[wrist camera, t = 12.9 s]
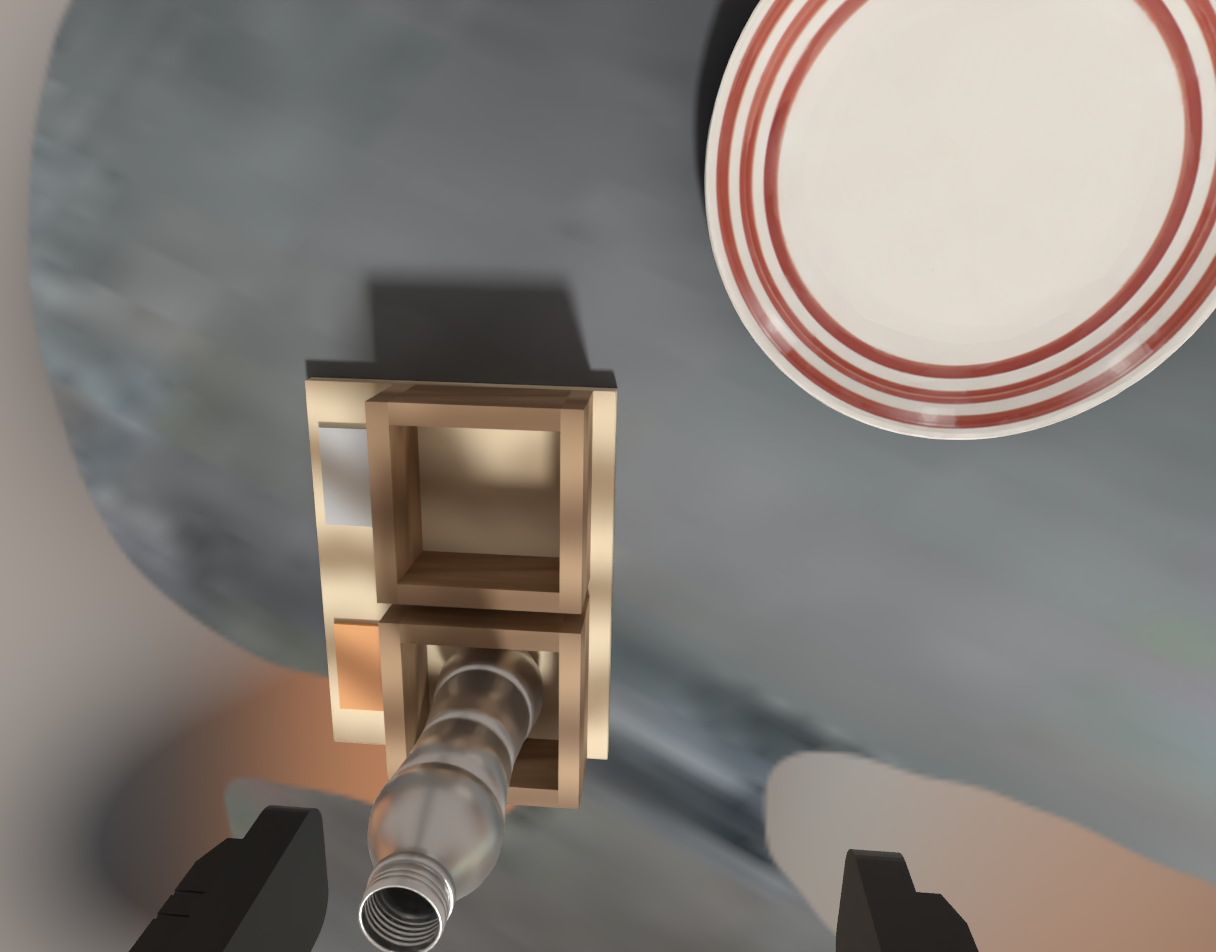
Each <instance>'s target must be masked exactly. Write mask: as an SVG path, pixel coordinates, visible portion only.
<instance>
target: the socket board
mask: <svg viewBox="0 0 1216 952" xmlns="http://www.w3.org/2000/svg"><path fill="white" fill-rule="evenodd" d="M305 387H306V400H307V412H308V424H309V437H310V449H311V461H312V474H313V486H314V498H315V510H316V523H317V535H318V547H319V560H320V572H321V584H322V597H323V609H324V621H325V634H326V646H327V658H328V671H329V683H330V695H331V707H332V720H333V732H334V741H335V742H350V743H365V744H381V745H386V758H387V774H388V781H389V780H390V779H391V777H392V776H393V775H394V774H395V772H396V771H397V770H398V768H399V767H400V766H401V765H402V763H403V762H404V761H405V759H406V758H407V757H408V756H409V754H410V752H411V750H412V749H413V747H414V745H415V744H416V742H417V740H418V739H419V737H420V735H421V733H422V732H423V730H424V728H425V725H426V723H427V720H428V717H429V714H430V711H431V708H432V705H433V697H434V692H435V688H436V684H437V680H438V677H439V674H440V671H441V669H442V667H443V665H444V664H445V663H446V662H447V660H448V659H449V658H450V657H451V656H452V655H453V654H454V653H455V652H456V651H457V650H458V649H459V648H460V647H475V648H493V649H510V650H526V651H527V652H528V653H529V654H530V655H531V657H532V658H533V659H534V661H535V662H536V664H537V666H538V668H539V670H540V673H541V677H542V683H543V700H542V708H541V711H540V715H539V717H538V719H537V720H536V722H535V724H534V726H533V728H532V730H531V732H530V734H529V735H528V737H527V738H526V739H525V741H524V742H523V744H522V747H521V749H520V751H519V754H518V756H517V758H516V761H515V763H514V766H513V770H512V774H511V779H510V784H509V788H508V793H507V802H506V804H514V805H528V806H542V807H557V808H571V809H579V803H580V797H581V791H582V785H583V779H584V773H585V767H586V762H587V758H593V759H607V757H608V746H609V706H610V667H611V627H612V587H613V547H614V507H615V467H616V427H617V388H595V387H567V386H540V385H512V384H485V383H457V382H429V381H402V380H374V379H347V378H319V377H311V378H309V379H307V380H305Z"/></svg>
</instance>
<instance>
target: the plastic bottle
mask: <svg viewBox="0 0 1216 952" xmlns="http://www.w3.org/2000/svg"><path fill="white" fill-rule="evenodd" d="M542 700H543V683H542V677H541V673H540V670H539V668H538V666H537V664H536V662H535V661H534V659H533V658H532V657H531V655H530V654H529V653H528V652H527V651H526V650H510V649H493V648H475V647H460V648H459V649H458V650H457V651H456V652H455V653H454V654H453V655H452V656H451V657H450V658H449V659H448V660H447V662H446V663H445V664H444V665H443V667H442V669H441V671H440V674H439V677H438V680H437V684H436V688H435V692H434V697H433V705H432V708H431V711H430V714H429V717H428V720H427V723H426V725H425V728H424V730H423V732H422V733H421V735H420V737H419V739H418V740H417V742H416V744H415V745H414V747H413V749H412V750H411V752H410V754H409V756H408V757H407V758H406V759H405V761H404V762H403V763H402V765H401V766H400V767H399V768H398V770H397V771H396V772H395V774H394V775H393V776H392V777H391V779H390V780H389V781H388V783H387V784H386V785H385V786H384V788H383V789H382V791H381V793H380V794H379V796H378V797H377V799H376V801H375V803H374V805H373V807H372V809H371V814H370V818H369V826H368V848H369V852H370V856H371V859H372V863H373V866H374V869H373V871H372V873H371V875H370V877H369V879H368V883H367V889H366V891H365V893H364V895H363V897H362V900H361V902H360V906H359V910H358V920H359V925H360V928H361V930H362V932H363V934H364V935H365V936H366V938H367V939H368V940H369V941H370V942H371V943H372V944H373V945H374V946H376V947H377V948H378V949H380V950H382V951H384V952H427V951H429V950H430V949H432V948H433V947H434V946H435V944H436V943H437V942H438V940H439V939H440V937H441V935H442V933H443V930H444V927H445V924H446V921H447V920H448V919H449V917H450V915H451V913H452V910H453V907H454V904H455V901H457V900H458V899H460V898H462V897H464V896H466V895H468V894H469V893H471V892H472V891H474V890H475V889H476V888H478V887H479V885H480V884H481V883H482V882H483V881H484V880H485V879H486V877H487V876H488V875H489V873H490V872H491V871H492V869H493V868H494V866H495V864H496V862H497V860H498V858H499V855H500V851H501V848H502V842H503V837H504V826H505V814H506V802H507V793H508V788H509V784H510V779H511V774H512V770H513V766H514V763H515V761H516V758H517V756H518V754H519V751H520V749H521V747H522V744H523V742H524V741H525V739H526V738H527V737H528V735H529V734H530V732H531V730H532V728H533V726H534V724H535V722H536V720H537V719H538V717H539V715H540V711H541V708H542Z"/></svg>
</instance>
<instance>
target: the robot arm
mask: <svg viewBox="0 0 1216 952" xmlns="http://www.w3.org/2000/svg"><path fill="white" fill-rule="evenodd" d="M327 903H328V879H327V868H326V856H325V845H324V833H323V822H322V816H321V813H320V811H319V810H318V809H316V808H302V807H289V806H275V805H270V806H267V807H266V808H265V809H264V810H263V811H262V812H261V814H260V815H259V817H258V818H257V820H256V821H255V822H254V824H253V825H252V827H251V828H250V830H249V831H248V832H247V834H246V835H245V837H244V838H243V839H234V838H227V839H225V840H224V841H223V842H221V843H220V844H219V845H217V846H216V847H215V848H213V849H212V850H211V851H209V852H208V853H207V854H205V855H204V856H203V857H201V858H200V859H199V860H197V861H196V862H195V863H194V865H193V866H192V868H191V869H190V870H189V872H188V873H187V874H186V876H185V877H184V878H183V880H182V881H181V882H180V884H179V885H178V886H177V888H176V889H175V893H174V895H171V896H170V897H169V899H168V900H167V901H166V903H165V904H164V905H163V907H162V908H161V909H160V911H159V912H158V916H157V918H156V919H153V920H152V921H151V923H150V924H149V925H148V927H147V928H146V929H145V931H144V932H143V933H142V935H141V936H140V937H139V939H138V941H136V943H135V944H134V946H133V947H132V948H131V950H130V951H129V952H311V950H312V948H313V946H314V944H315V942H316V940H317V938H318V936H319V933H320V931H321V928H322V925H323V922H324V918H325V914H326V909H327ZM836 952H978V949H977V947H976V944H975V942H974V939H973V937H972V935H971V932H970V930H969V927H968V925H967V923H966V922H965V921H964V920H963V919H962V917H961V916H960V915H959V914H958V913H957V912H956V911H955V909H953V907H952V906H951V905H950V904H949V903H948V902H947V901H946V900H945V898H944V897H943V896H942V895H941V894H934V893H920V892H916V891H915V888H914V885H913V882H912V879H911V876H910V873H909V871H908V868H907V865H906V862H905V860H904V857H903V856H902V854H900V853H895V852H881V851H867V850H854V849H850V850H849V851H848V852H847V855H846V860H845V868H844V876H843V884H842V892H841V899H840V908H839V915H838V923H837V932H836Z"/></svg>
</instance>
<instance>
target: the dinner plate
mask: <svg viewBox="0 0 1216 952" xmlns="http://www.w3.org/2000/svg"><path fill="white" fill-rule="evenodd" d="M704 189H705V207H706V217H707V224H708V230H709V236H710V241H711V246H712V251H713V254H714V258H715V261H716V264H717V267H718V270H719V273H720V276H721V278H722V281H723V283H724V286H725V288H726V291H727V293H728V295H729V297H730V299H731V302H732V304H733V306H734V308H735V310H736V311H737V313H738V315H739V317H740V319H741V320H742V322H743V324H744V325H745V327H746V328H747V330H748V331H749V333H750V334H751V336H752V337H753V338H754V340H755V341H756V342H757V344H758V345H759V346H760V347H761V349H762V350H763V351H764V352H765V354H766V355H767V356H768V357H769V358H770V359H771V360H772V361H773V362H774V363H775V365H776V366H777V367H778V368H779V369H780V370H781V371H782V372H783V373H785V374H786V375H787V376H788V377H789V378H790V379H791V380H793V381H794V382H795V383H796V384H797V385H799V386H800V387H801V388H802V389H804V390H805V391H806V392H808V393H809V394H810V395H812V396H813V397H814V398H816V399H817V400H819V401H821V402H822V403H824V404H825V405H827V406H829V407H831V408H833V409H834V410H836V411H838V412H840V413H842V414H844V415H846V416H849V417H851V418H853V419H856V420H858V421H861V422H863V423H866V424H869V425H871V426H874V427H877V428H880V429H884V430H888V431H891V432H895V433H899V434H904V435H909V436H916V437H923V438H930V439H945V440H975V439H985V438H995V437H1001V436H1007V435H1012V434H1018V433H1022V432H1027V431H1031V430H1034V429H1038V428H1041V427H1044V426H1047V425H1051V424H1054V423H1056V422H1059V421H1062V420H1065V419H1067V418H1070V417H1073V416H1075V415H1077V414H1080V413H1082V412H1084V411H1086V410H1088V409H1090V408H1092V407H1094V406H1096V405H1098V404H1100V403H1102V402H1104V401H1106V400H1108V399H1110V398H1112V397H1114V396H1115V395H1117V394H1118V393H1120V392H1121V391H1123V390H1125V389H1126V388H1128V387H1129V386H1131V385H1133V384H1134V383H1136V382H1137V381H1139V380H1140V379H1141V378H1143V377H1144V376H1146V375H1147V374H1148V373H1150V372H1151V371H1153V370H1154V369H1155V368H1156V367H1157V366H1159V365H1160V364H1161V363H1162V362H1164V361H1165V360H1166V359H1167V358H1168V357H1169V356H1170V355H1171V354H1173V353H1174V352H1175V351H1176V350H1177V349H1178V348H1179V347H1180V346H1181V345H1182V344H1183V343H1184V342H1185V341H1186V340H1187V339H1189V338H1190V337H1191V336H1192V335H1193V334H1194V332H1195V331H1196V330H1197V329H1198V328H1199V327H1200V326H1201V325H1202V324H1203V322H1204V321H1205V320H1206V319H1207V318H1208V317H1209V316H1210V314H1211V313H1212V312H1213V311H1214V309H1215V308H1216V0H760V1H759V3H758V4H757V6H756V8H755V9H754V11H753V13H752V14H751V16H750V18H749V20H748V22H747V23H746V25H745V27H744V29H743V31H742V33H741V35H740V37H739V39H738V41H737V43H736V45H735V47H734V50H733V52H732V54H731V57H730V59H729V61H728V64H727V66H726V69H725V72H724V75H723V78H722V81H721V84H720V87H719V91H718V94H717V97H716V101H715V105H714V109H713V113H712V117H711V121H710V126H709V132H708V138H707V146H706V157H705V177H704Z"/></svg>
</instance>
